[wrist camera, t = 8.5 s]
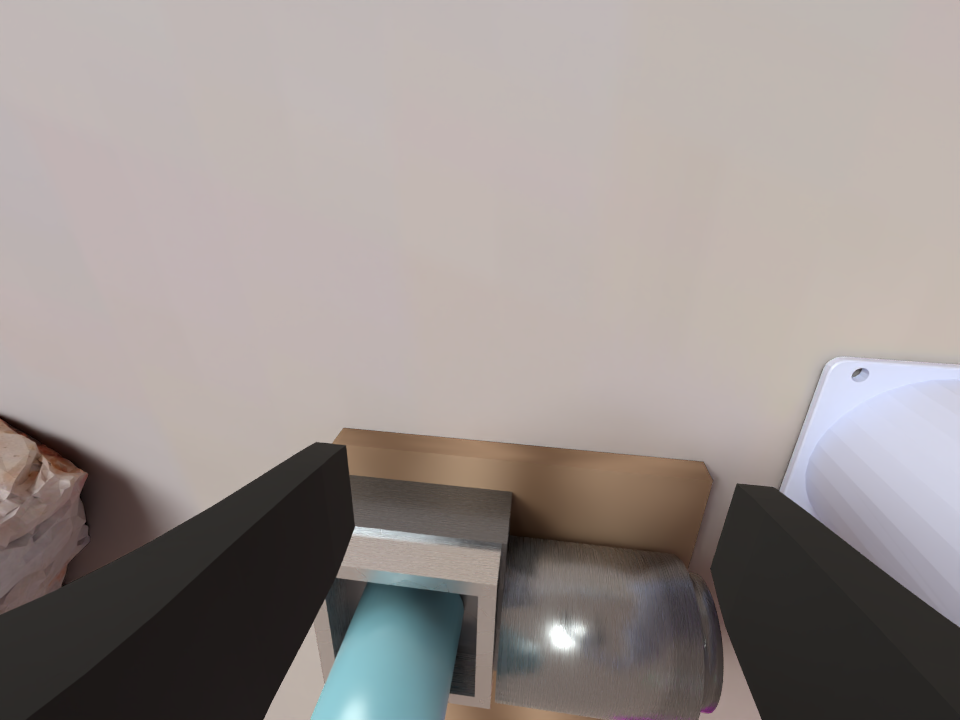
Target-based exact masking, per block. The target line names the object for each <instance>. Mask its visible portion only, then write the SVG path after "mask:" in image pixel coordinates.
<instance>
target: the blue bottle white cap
mask: <svg viewBox="0 0 960 720" xmlns="http://www.w3.org/2000/svg"><path fill="white" fill-rule="evenodd" d="M463 616H464V605H463V602H462V599H461V597H460V595H459V594H457V593H449V592H441V591H434V590H426V589H418V588H411V587H403V586H395V585H387V584H380V583H372V582H367V584H366V587H365V589H364V591H363V594H362V596H361V599H360V601H359V603H358V606H357V608H356V611H355V613H354V615H353V618H352V620H351V623H350V625H349V627H348V630H347V632H346V635H345V637H344V640H343V642H342V644H341V647H340V649H339V652H338V654H337V656H336V659H335V661H334V664H333V666H332V668H331V671H330V673H329V676H328V678H327V681H326V683H325V685H324V688H323V690H322V693H321V695H320V697H319V700H318V702H317V705H316V707H315V709H314V712H313V714H312V717H311V719H310V720H445V715H446V710H447V704H448V699H449V693H450V688H451V682H452V676H453V671H454V665H455V660H456V654H457V649H458V643H459V638H460V632H461V627H462V621H463Z"/></svg>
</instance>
